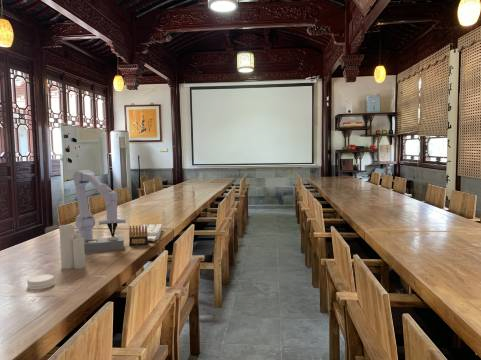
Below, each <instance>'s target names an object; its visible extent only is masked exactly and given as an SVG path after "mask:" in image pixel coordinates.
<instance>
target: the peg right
mask: <svg viewBox="0 0 481 360" xmlns="http://www.w3.org/2000/svg"><path fill="white" fill-rule="evenodd" d="M117 237H118V236H117V235H116V234H114V237H112V236H111V235H109V236H108V238H109V241H111V240H117Z"/></svg>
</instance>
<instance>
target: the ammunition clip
mask: <svg viewBox="0 0 481 360" xmlns="http://www.w3.org/2000/svg"><path fill="white" fill-rule="evenodd" d="M143 225H145V233H144V226H143ZM146 225H147V224H142V225H141V224H139V225H132V226H131V225H129V231H128V235H129V237H128V239H129V243H128V245H129V247H134V246H135V247H136V245H139V246H149V241H148V232H147V226H146ZM141 226H142V235H141ZM138 230H139V236H138ZM135 239H136V240H135Z"/></svg>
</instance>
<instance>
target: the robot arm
mask: <svg viewBox="0 0 481 360" xmlns="http://www.w3.org/2000/svg"><path fill="white" fill-rule="evenodd" d="M72 177H73V182H74V187H75V193H76V199H77V205H78V206H77V207H78V213H79V214H78V215H77V216H76V217H75V226H76V228H77V229H75V230H76V231H75V234H78V233H79V234H81V238H84V240H91V239H94V237H93V229H94V227H95V225H96V219H95V218H94V215H93V213H91V212H90V210H89V202H88V195H87V191H86V190H87V189H86V186H87V184H89V183H90V184H92V185H93V187H96V191H97V192H98V193H99V194H100V195H101V196H102V197H103V200H104V203H105V206H106V207H105V208H106V209H105V210H106V220H105V219H104V220H98V225H99V226H100V225H101V226H102V225H107V227H108V229H109V232H110V234H111V235H110V236H112V237H114V235H116V234H115V233H116V229H117V227H118V224H126V222H127V221H126V220H127V219H126V218H122V219H121V218H120V219H118V200H119V198H120V195H119V193H118V191H116V190H112V188H110V187H109V185H108V184H106V183H102V182H101V181H100V179H98V178H97V176H96V175H95V172H93V170H92V169H85V170H84V169H83V170H76V171H75V172H74V173H73V176H72Z"/></svg>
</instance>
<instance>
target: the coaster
mask: <svg viewBox="0 0 481 360" xmlns="http://www.w3.org/2000/svg"><path fill="white" fill-rule="evenodd" d="M26 283H27V284H26V285H27V289H29V290H32V291H36V290H38V291H39V290H45V289H48V288H51V287H52V286H54V284H55V275H53V274H47V273H45V274H39V275H38V274H37V275H34V276H31V277H30V278H28V279H27V281H26Z"/></svg>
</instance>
